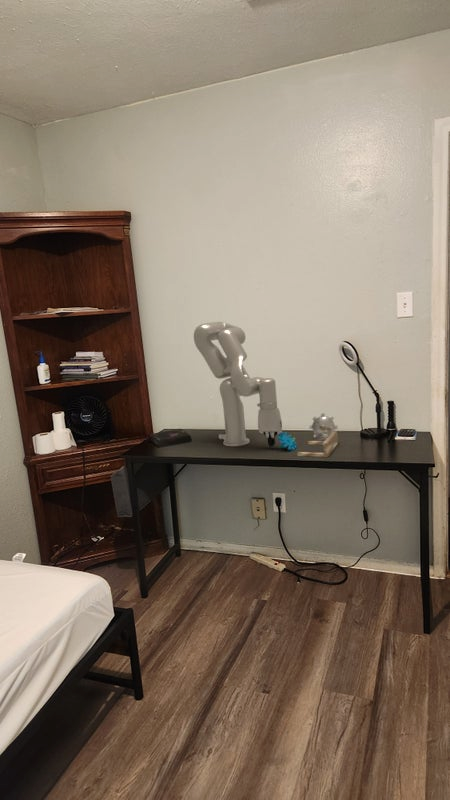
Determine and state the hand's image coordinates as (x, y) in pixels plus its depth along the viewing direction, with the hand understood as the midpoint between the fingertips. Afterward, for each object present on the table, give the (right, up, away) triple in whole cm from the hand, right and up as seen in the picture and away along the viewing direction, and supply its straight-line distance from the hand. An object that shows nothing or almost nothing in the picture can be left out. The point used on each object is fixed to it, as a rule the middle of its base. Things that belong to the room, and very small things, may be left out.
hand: (271, 445), depth 233 cm
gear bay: (+19, -1, -8) cm, 21 cm away
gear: (+24, +1, +3) cm, 25 cm away
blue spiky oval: (+7, -1, -3) cm, 8 cm away
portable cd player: (-48, -1, +29) cm, 56 cm away
